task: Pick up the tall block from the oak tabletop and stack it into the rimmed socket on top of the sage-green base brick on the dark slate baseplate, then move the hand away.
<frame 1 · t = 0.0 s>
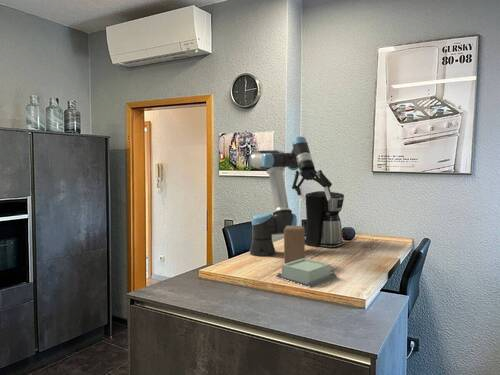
hand: (316, 200, 187), 36 cm above the counter, tool tilted 35°, fingers open, 13 cm apart
coffee maker: (321, 243, 256), on the counter
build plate: (306, 277, 185), on the counter
block: (294, 265, 207), on the counter
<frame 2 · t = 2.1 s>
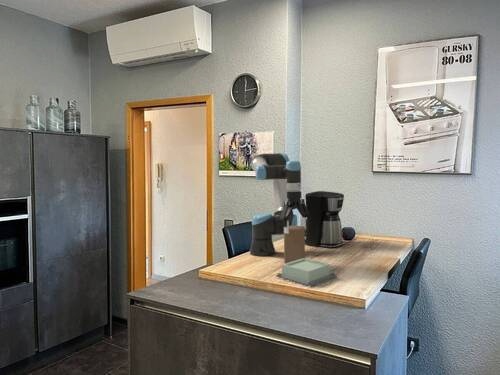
hand: (295, 231, 205), 18 cm above the counter, tool pointing down, fingers open, 13 cm apart
block: (294, 265, 207), on the counter, touching gripper
everything else where it was.
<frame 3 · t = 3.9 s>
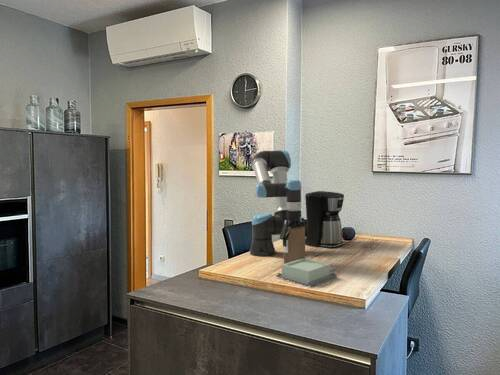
hand: (294, 250, 206), 8 cm above the counter, tool pointing down, fingers closed on block, 13 cm apart
block: (294, 265, 207), on the counter, touching gripper
everything else where it was.
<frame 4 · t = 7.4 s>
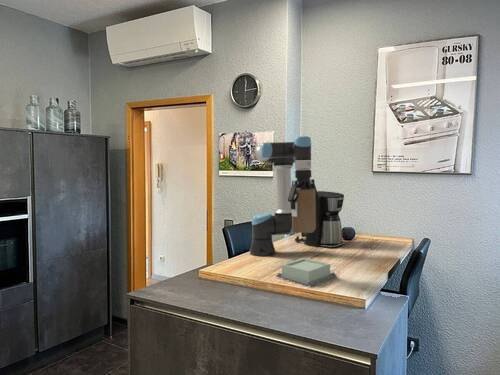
hand: (303, 214, 185), 29 cm above the counter, tool pointing down, fingers closed on block, 13 cm apart
block: (304, 231, 186), point 21 cm above the counter, touching gripper
everything else where it was.
when the fingers open (14 cm above the counter, at t = 11.0 s): block drops 1 cm, resting on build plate.
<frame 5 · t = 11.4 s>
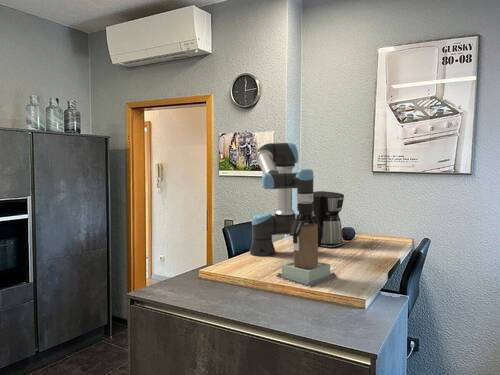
hand: (305, 247, 184), 14 cm above the counter, tool pointing down, fingers open, 13 cm apart
block: (306, 266, 185), point 5 cm above the counter, touching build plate, gripper
everything else where it was.
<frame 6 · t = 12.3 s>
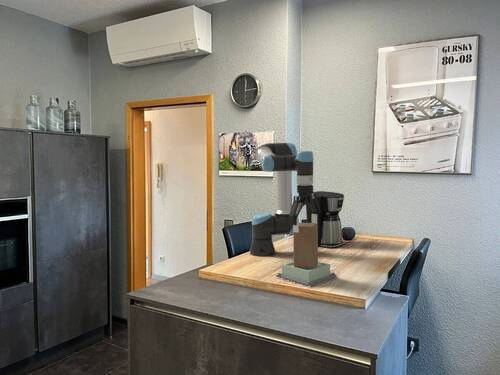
hand: (305, 229, 183), 23 cm above the counter, tool pointing down, fingers open, 13 cm apart
nothing on the counter moved.
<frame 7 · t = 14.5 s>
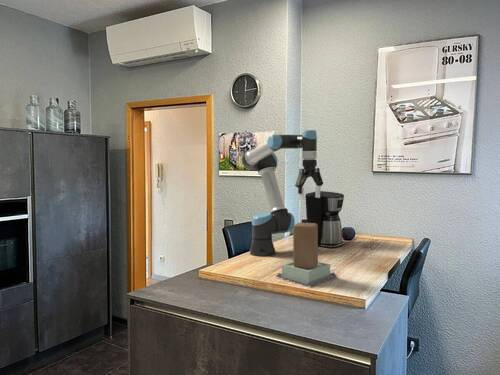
hand: (309, 198, 212), 34 cm above the counter, tool pointing down, fingers open, 13 cm apart
block: (305, 266, 185), point 5 cm above the counter, touching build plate
everything else where it was.
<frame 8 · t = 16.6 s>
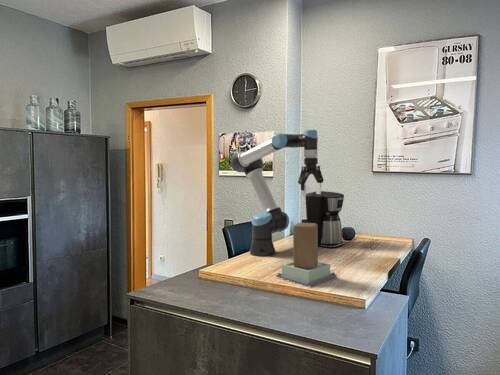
hand: (311, 195, 222), 35 cm above the counter, tool pointing down, fingers open, 13 cm apart
nothing on the counter moved.
at the end: block 0.1 cm off-centre on the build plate, point 5.0 cm above the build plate's base; block tilted 0°; the gripper is holding nothing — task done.
